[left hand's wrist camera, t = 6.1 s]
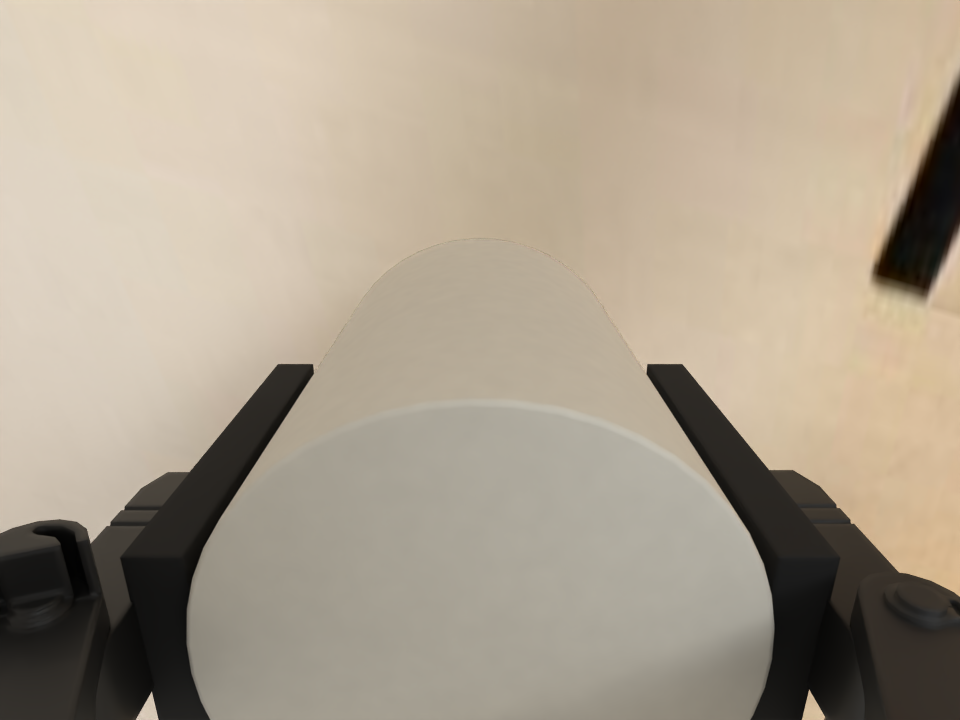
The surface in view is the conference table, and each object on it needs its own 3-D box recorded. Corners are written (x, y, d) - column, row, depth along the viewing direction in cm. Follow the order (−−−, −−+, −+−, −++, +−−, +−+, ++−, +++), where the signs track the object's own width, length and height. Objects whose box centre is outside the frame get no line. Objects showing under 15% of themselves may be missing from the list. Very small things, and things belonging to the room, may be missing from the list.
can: (531, 532, 19) (578, 917, 10) (299, 426, 17) (107, 753, 8) (672, 321, 16) (905, 569, 7) (417, 183, 15) (326, 277, 6)
